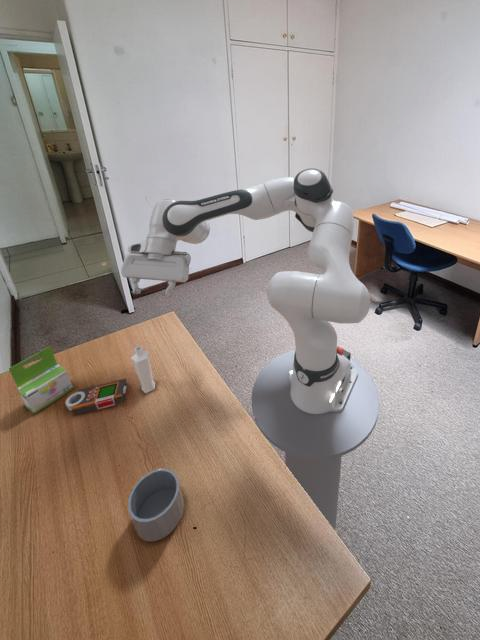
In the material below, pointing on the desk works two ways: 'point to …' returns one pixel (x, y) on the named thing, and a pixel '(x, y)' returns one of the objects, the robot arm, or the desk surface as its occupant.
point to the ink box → (41, 380)
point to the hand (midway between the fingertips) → (150, 294)
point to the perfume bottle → (143, 369)
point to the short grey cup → (156, 504)
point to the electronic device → (97, 397)
